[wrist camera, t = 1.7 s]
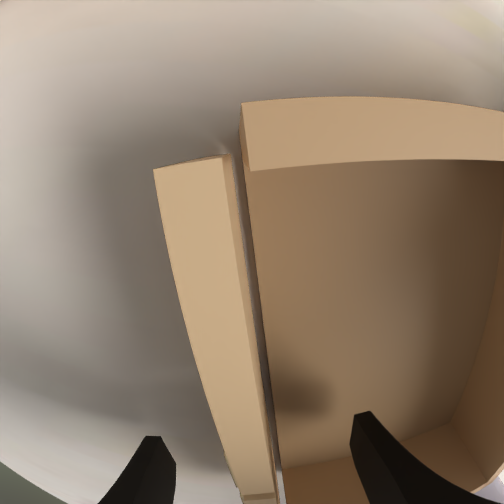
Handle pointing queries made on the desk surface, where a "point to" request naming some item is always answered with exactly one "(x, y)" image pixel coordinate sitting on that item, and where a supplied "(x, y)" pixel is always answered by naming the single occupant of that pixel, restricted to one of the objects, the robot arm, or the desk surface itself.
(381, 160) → the carton
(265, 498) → the flap
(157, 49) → the desk surface
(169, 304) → the desk surface
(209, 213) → the flap
